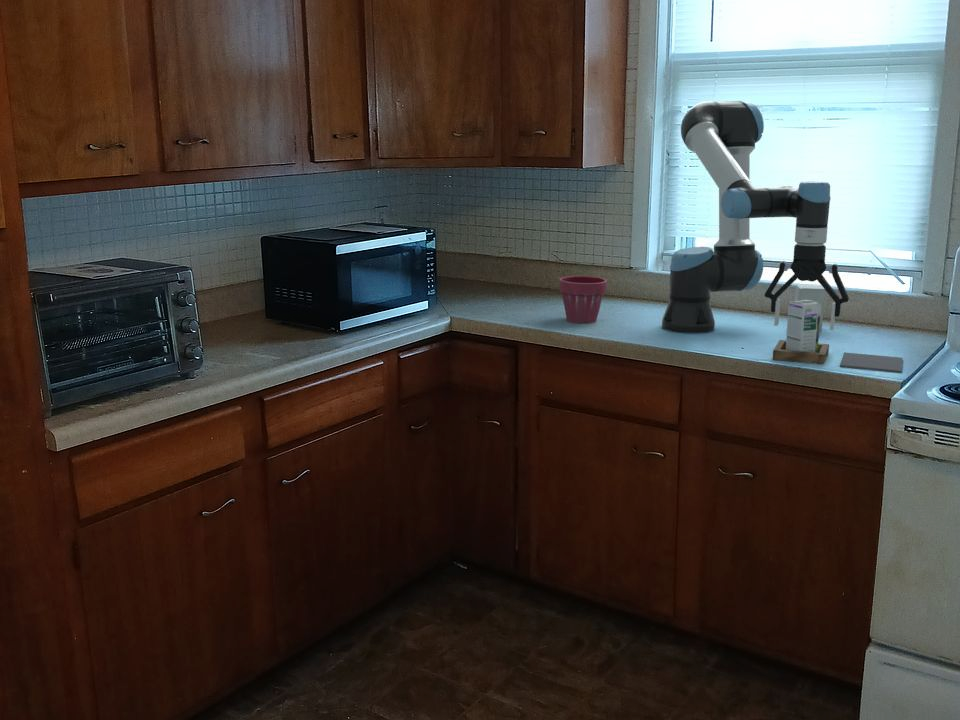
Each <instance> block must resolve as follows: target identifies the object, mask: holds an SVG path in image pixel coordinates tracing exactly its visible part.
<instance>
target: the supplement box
mask: <svg viewBox="0 0 960 720" xmlns="http://www.w3.org/2000/svg"><path fill="white" fill-rule="evenodd" d="M794 292H795V293H794V296H795V297H794V301H801V300H812V301H816V302H819V303H821V313H820V326H819V333H820V332H822V331H823V320H824V310H825V309H824V308H825V298H826V297H825V296H826V290H825V289H824V288H823V286H822V285H821V284H796V285H795V291H794Z"/></svg>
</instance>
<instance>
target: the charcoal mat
mask: <svg viewBox="0 0 960 720" xmlns="http://www.w3.org/2000/svg"><path fill="white" fill-rule="evenodd" d="M839 367H840V368H846V367H847V369H858V370H859V369H860V370H867V369H868V371H869V370H870V371H877V370H879V372H890V373H900V374H902V367H903V357H899V356H887V355H880V354H879V355H877V354H867V353H857V352H856V353H855V352H846V351H845V352H843V354H842V358H841V361H840V364H839Z"/></svg>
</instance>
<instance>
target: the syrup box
mask: <svg viewBox="0 0 960 720" xmlns="http://www.w3.org/2000/svg"><path fill="white" fill-rule="evenodd" d="M787 306H788V309H787V325H786V327H787V328H786V339H785V340H786V350H792V351H803V352H814V353H818V343H819V337H820V332H819V326H820V313H821V303H819V302H816V301H812V300H801V301H795V300H793V301H789V302H788V305H787Z"/></svg>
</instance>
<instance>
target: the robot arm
mask: <svg viewBox="0 0 960 720" xmlns="http://www.w3.org/2000/svg"><path fill="white" fill-rule="evenodd" d="M764 129H765V124H764V117H763V114H762V111H761V109H760V108H759V107H758V105H757V104H756V103H754V102H751V101H742V100H737V101H736V100H732V101H731V100H730V101H728V100H727V101H710V100H709V101H701V102H698V103H697V104H695V105H693V106H692V107H690V108H689V109H688V110H687V111H686V113H685V114H684V116H683V118H682V120H681V125H680V135H681V139H682V141H683V143H684V145H685V146H686V148H687V149H688V150H689V151H690V152H693V153H695V154H696V156H697V158H698V159H699V161H700V162H701V164H702V165H703V166H704V169H705V170H706V171H707V172H708V174H709V175H710V177H711V178H712V180H713V182H714V183H715V185H716V186H717V188H718V240H717V241H716V243H715V244H714V245H713V248H711V247H709V246H692V247H684V248H682V249H677V250H676V251H674V252H673V254H672V256H671V259H670V260H671V261H670V266H669V269H670V270H669V271H670V272H669V273H670V275H669V295H668V296H669V297H668V299H669V300H668V303H667V306H666V309H665V311H664V314H663V317H662V320H661V328H662V329H664V330H666V331H669V332H675V333H683V334H704V333H710V332H713V331H714V330H715V327H716V326H715V325H716V322H715V317H714V313H713V310H712V306H711V293H715V292H735V291H736V292H741V291H746V290H747V291H748V290H752V289H754V288H755V287H756V286H757V285H758V283H759V282H760V281H761V278H762V275H763V272H764V258H763V257H762V256H763V255H762V254H761V251H759V250H757V249H756V244H755V242H754V241H752V239H751V238H750V236H751V235H750V224H751V223H750V219H756V218H757V219H760V218H761V219H762V218H794V219H795V218H796V221H795V232H794V233H795V234H794V235H795V236H794V242H795V243H796V244H795V245H794V246H793V259H792V260H793V261H792V262H786V261H785V260H783V261H781V262H780V264H779V268H778V271H777V273H776V275H775V277H774V278H773V280H772V281H771V283H770V284H769V286H768V288H767V290H766V291H765V293H764V297H765V298H768V299H770V301H771V302H770V304H771V305H770V312H771V313H774V320H773V323H774V324H773V325H774V327H775V326H776V327H777V326H779V322H780V321H779V320H780V310H781V309H780V308H781V307H780V306H781V299H780V298H779V297H780V296H781V295H782V294H783V293H784V292H785V291H787V289H788V288H789V287H791V285H792V284H793V283H795V282H796V280H799V281H800V282H806V281H807V282H815V281H817V282H818V283H819V285H822V286H823V288H824V289H825V292H826V293H827V294H828V295H829V297H830V298H831V299H832V300H833V302H832V304H831V313H830V314H831V315H830V326H829V327H830V328H829V331H830V330H831V331H834V328H835V319H836V317H839V316H840V315H841V307H842V306H841V305H842V304H844V303H847V302H848V301H849V300H850V297H849V295H848V292H847V290H846V288H845V286H844V283H843V281H842V278H841V276H840V274H839V265H838V264H837V263H834V264H826V249H827V247H826V245H825V244H826V243H827V241H828V238H827V237H828V225H829V224H828V223H829V213H830V205H831V203H830V202H831V185H830V183H829V182H827V181H815V180H807V181H800V183H799V184H798V187H794V186H789V185H788V186H778V187H755V186H754V184H753V183H752V182H751V181H750V178H751V177H750V174H751V173H750V172H751V171H750V167H751V166H750V163H751V162H750V155H751V153H752V152H754V150H755V149H756V143H758V142H759V141H760V140H761V139H762V137H763V133H764ZM789 269H791V270H792V272H793V275H792V276H791V277H790V278H789V279H788V280H786V282H785V283H784V284H782V286H781V287H780V288H779V289H777V290H776V291H775V293H774V292H773V291H774V290H775V288H776V287H777V284H778V282H779V281H780V280H781V278H782V276H783V274H785V272H787V271H788V270H789ZM826 270H827V271H828V273H829V274H831V275H832V278H833V280H834V283H835V285H836V287H837V289H838V293H839V294H840V296H841V297H840V296H839V294H837V292H836V291H835V290H834V289H833V287H832V286H831V285H830V284H829V281H827V279H826V278H825V277H824V275H823V274H824V273H825V271H826Z"/></svg>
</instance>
